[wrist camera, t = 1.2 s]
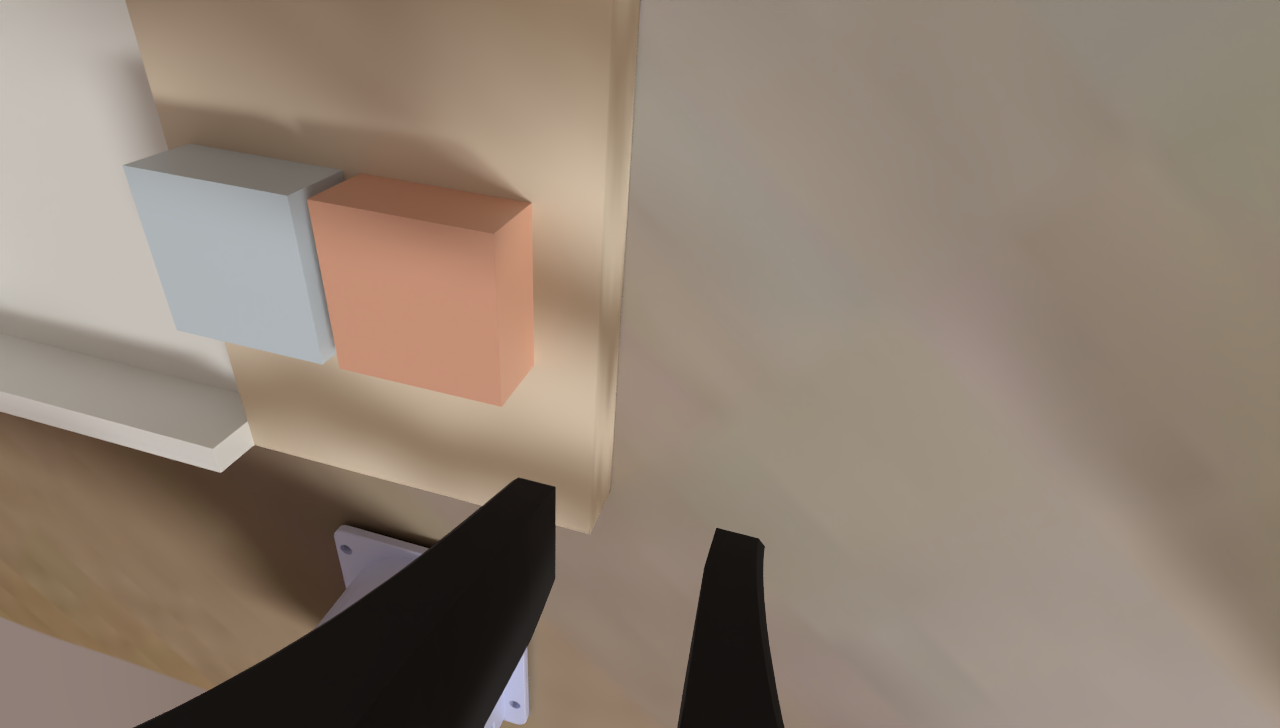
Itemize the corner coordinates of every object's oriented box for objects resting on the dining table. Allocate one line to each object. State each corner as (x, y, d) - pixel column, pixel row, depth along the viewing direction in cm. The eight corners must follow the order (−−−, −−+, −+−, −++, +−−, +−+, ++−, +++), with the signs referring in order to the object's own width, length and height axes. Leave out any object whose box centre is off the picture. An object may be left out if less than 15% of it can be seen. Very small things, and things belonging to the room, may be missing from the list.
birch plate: (610, 491, 23) (589, 534, 22) (294, 411, 26) (254, 445, 24) (645, -83, 15) (616, -83, 13) (163, -125, 17) (87, -130, 15)
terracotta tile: (534, 365, 19) (501, 406, 17) (383, 332, 20) (339, 368, 18) (531, 203, 17) (493, 233, 15) (360, 173, 17) (307, 199, 16)
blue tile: (368, 328, 20) (322, 364, 18) (231, 297, 21) (177, 330, 19) (342, 170, 18) (287, 195, 16) (189, 143, 18) (122, 165, 17)
